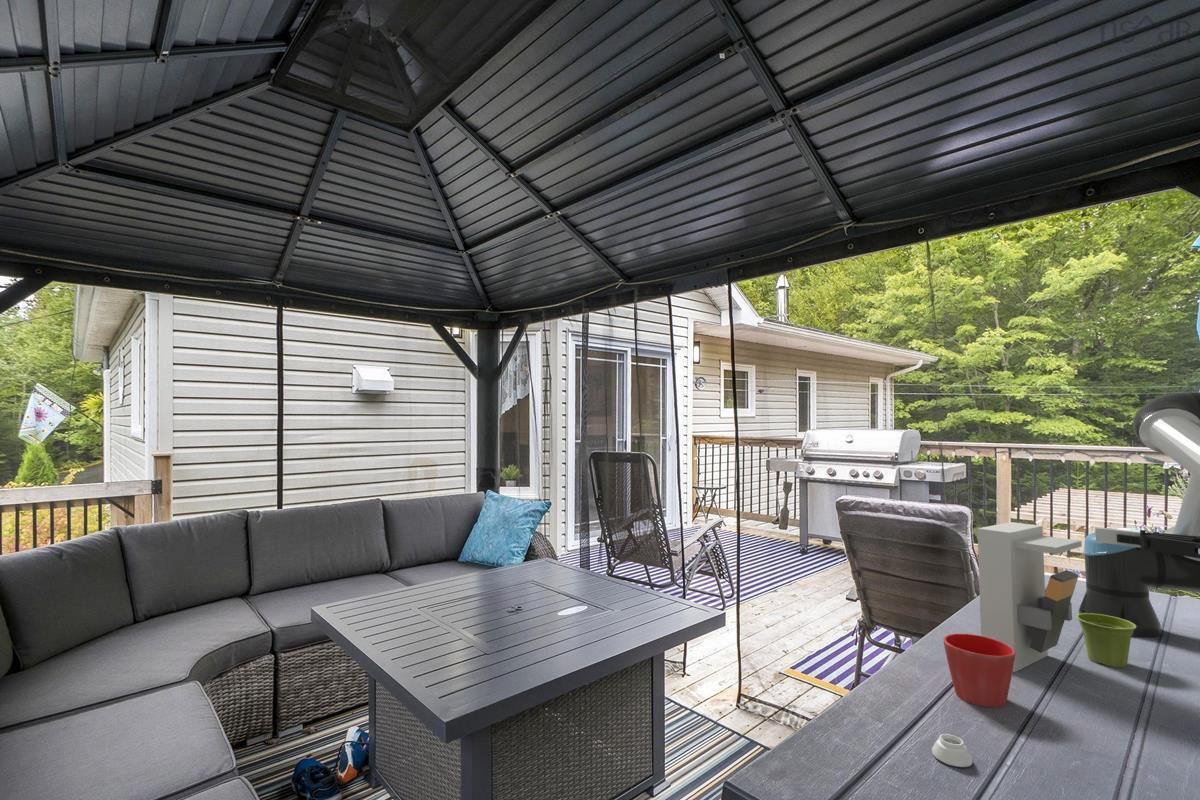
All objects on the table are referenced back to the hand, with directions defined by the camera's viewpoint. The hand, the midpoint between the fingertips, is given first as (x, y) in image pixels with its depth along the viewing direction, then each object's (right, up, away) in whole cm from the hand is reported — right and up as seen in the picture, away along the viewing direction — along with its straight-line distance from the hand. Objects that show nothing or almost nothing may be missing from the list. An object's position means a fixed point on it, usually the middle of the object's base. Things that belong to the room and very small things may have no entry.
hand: (1097, 534), depth 108 cm
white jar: (-45, -28, -25) cm, 58 cm away
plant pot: (+11, -30, +9) cm, 33 cm away
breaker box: (-6, -29, +8) cm, 31 cm away
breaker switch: (-5, -25, +7) cm, 26 cm away
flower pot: (-27, -29, -7) cm, 40 cm away
